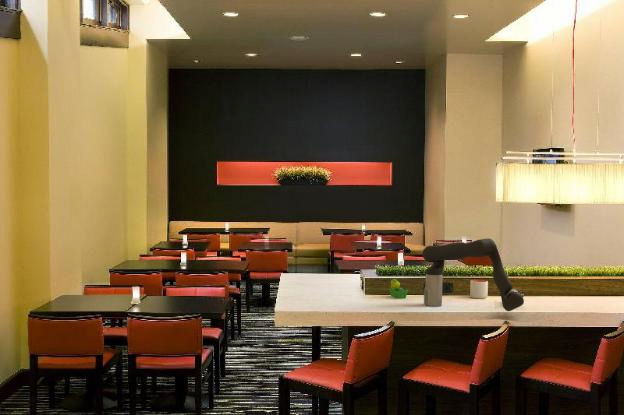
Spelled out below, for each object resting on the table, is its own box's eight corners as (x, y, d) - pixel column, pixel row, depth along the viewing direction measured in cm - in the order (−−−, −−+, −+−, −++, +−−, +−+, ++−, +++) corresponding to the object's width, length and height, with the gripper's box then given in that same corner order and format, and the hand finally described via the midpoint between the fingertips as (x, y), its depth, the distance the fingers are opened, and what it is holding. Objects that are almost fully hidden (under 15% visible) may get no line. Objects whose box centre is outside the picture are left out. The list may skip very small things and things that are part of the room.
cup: (482, 299, 475) (483, 282, 474) (467, 297, 481) (467, 280, 481) (490, 297, 483) (490, 280, 482) (474, 295, 489) (475, 279, 488)
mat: (525, 310, 440) (525, 309, 440) (494, 309, 444) (494, 308, 444) (523, 303, 464) (523, 302, 464) (494, 302, 467) (494, 301, 467)
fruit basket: (408, 298, 475) (409, 279, 474) (395, 299, 472) (395, 280, 471) (399, 295, 485) (400, 276, 485) (386, 296, 482) (386, 277, 481)
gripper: (525, 289, 417) (524, 284, 434) (499, 288, 419) (498, 283, 436) (525, 304, 417) (523, 298, 434) (498, 303, 420) (498, 297, 437)
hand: (511, 291), depth 435 cm, fingers closed
